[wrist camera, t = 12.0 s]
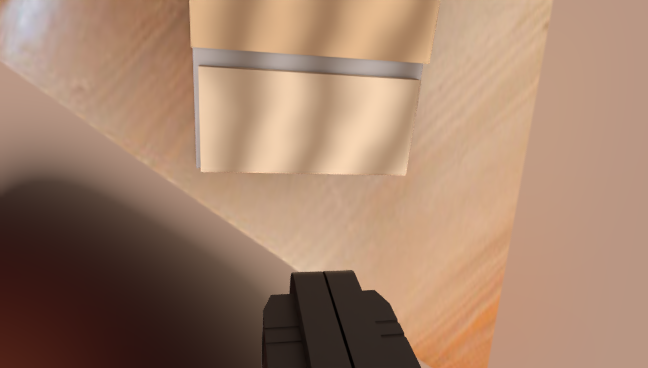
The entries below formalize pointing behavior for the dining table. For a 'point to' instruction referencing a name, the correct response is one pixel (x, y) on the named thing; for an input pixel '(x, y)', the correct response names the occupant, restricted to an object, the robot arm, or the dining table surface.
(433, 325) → the dining table surface
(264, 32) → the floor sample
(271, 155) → the plank
